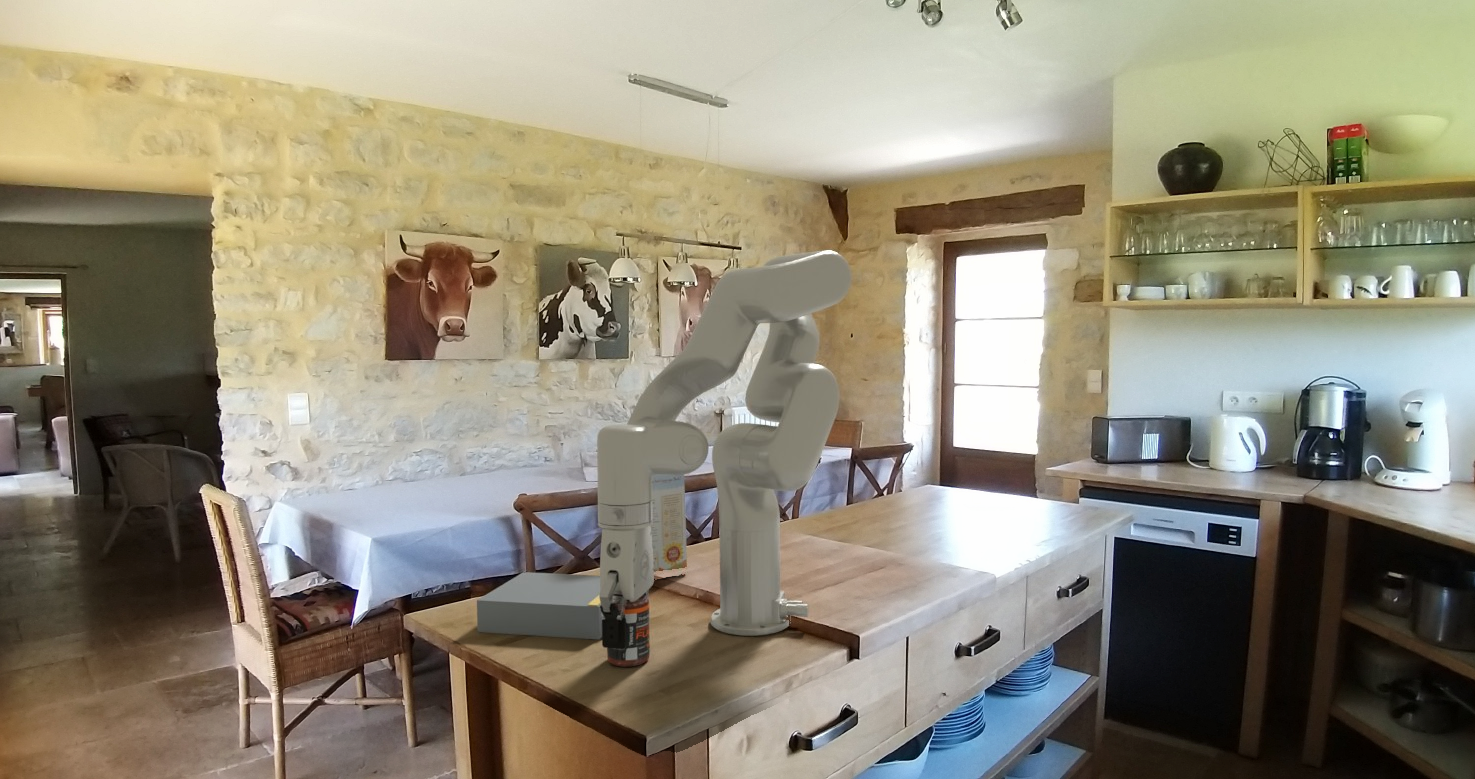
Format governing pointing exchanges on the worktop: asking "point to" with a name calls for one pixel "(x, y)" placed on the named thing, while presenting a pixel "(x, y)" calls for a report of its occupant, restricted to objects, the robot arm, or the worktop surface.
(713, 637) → the worktop surface
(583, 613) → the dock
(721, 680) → the worktop surface
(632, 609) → the supplement bottle
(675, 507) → the cracker box
